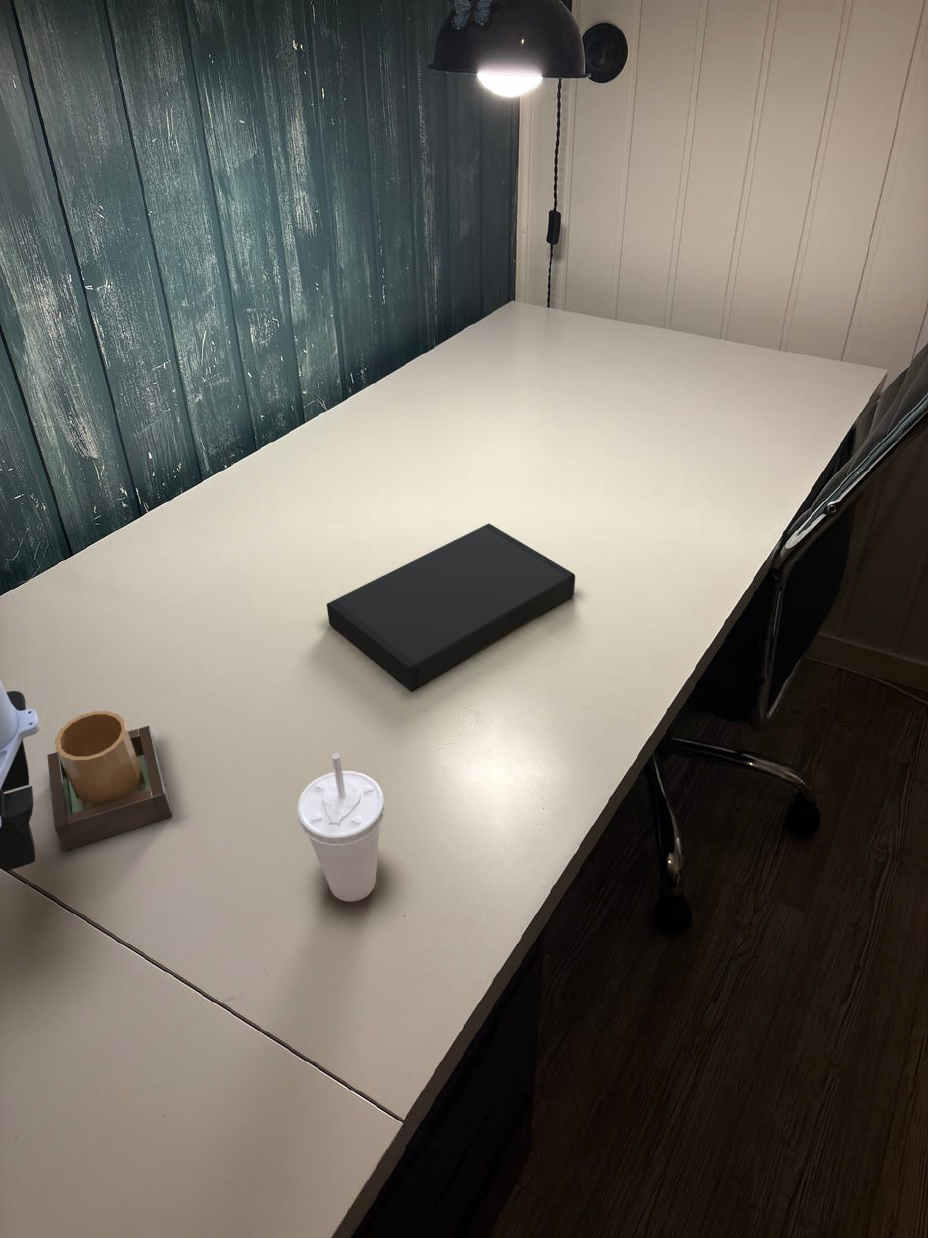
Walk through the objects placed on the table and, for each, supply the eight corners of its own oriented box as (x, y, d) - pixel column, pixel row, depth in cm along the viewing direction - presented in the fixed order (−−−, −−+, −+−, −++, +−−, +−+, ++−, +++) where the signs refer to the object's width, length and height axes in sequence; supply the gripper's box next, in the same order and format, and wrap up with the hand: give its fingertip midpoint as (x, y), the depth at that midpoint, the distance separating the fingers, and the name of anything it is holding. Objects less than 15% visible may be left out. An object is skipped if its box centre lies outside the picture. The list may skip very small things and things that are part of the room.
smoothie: (398, 851, 75) (386, 732, 67) (385, 920, 70) (371, 800, 62) (322, 846, 76) (300, 726, 67) (303, 913, 71) (278, 794, 62)
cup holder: (65, 851, 76) (54, 828, 74) (57, 777, 82) (46, 754, 80) (172, 816, 79) (165, 793, 77) (156, 748, 85) (149, 725, 83)
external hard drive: (329, 624, 99) (326, 602, 97) (488, 543, 110) (488, 522, 109) (411, 691, 90) (410, 669, 88) (574, 596, 102) (575, 574, 100)
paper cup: (82, 825, 77) (57, 768, 73) (76, 778, 81) (52, 722, 77) (150, 803, 79) (130, 747, 74) (140, 759, 83) (121, 703, 78)
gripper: (20, 742, 54) (84, 881, 62) (10, 605, 64) (66, 740, 73) (-112, 780, 52) (-28, 918, 60) (-100, 631, 62) (-30, 767, 71)
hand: (17, 823), depth 66 cm, fingers open, 7 cm apart
